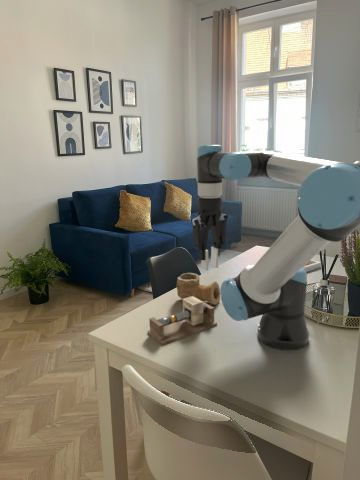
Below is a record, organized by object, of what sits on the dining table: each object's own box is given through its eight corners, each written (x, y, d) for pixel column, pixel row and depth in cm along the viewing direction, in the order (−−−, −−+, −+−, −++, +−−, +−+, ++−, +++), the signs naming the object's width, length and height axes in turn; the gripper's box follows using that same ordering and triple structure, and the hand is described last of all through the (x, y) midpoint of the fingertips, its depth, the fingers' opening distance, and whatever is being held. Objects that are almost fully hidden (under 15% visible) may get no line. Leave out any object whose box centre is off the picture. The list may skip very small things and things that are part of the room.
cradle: (200, 314, 127) (200, 300, 125) (217, 325, 120) (217, 309, 118) (147, 332, 116) (147, 316, 114) (162, 345, 108) (161, 328, 107)
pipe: (215, 309, 131) (215, 283, 128) (173, 304, 136) (172, 279, 133) (221, 299, 139) (221, 275, 136) (181, 294, 144) (180, 271, 142)
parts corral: (320, 267, 172) (321, 262, 171) (298, 274, 163) (299, 269, 163) (293, 259, 184) (293, 254, 184) (272, 265, 176) (272, 260, 175)
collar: (192, 315, 123) (192, 295, 121) (203, 322, 118) (203, 301, 116) (182, 318, 120) (182, 298, 119) (193, 325, 116) (192, 305, 114)
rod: (202, 310, 123) (202, 303, 122) (207, 313, 120) (207, 306, 120) (156, 326, 113) (156, 318, 112) (160, 329, 111) (160, 321, 110)
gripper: (222, 192, 120) (221, 260, 126) (181, 197, 111) (182, 269, 117) (237, 195, 114) (236, 265, 120) (195, 200, 105) (196, 276, 111)
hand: (209, 267), depth 119 cm, fingers open, 3 cm apart
